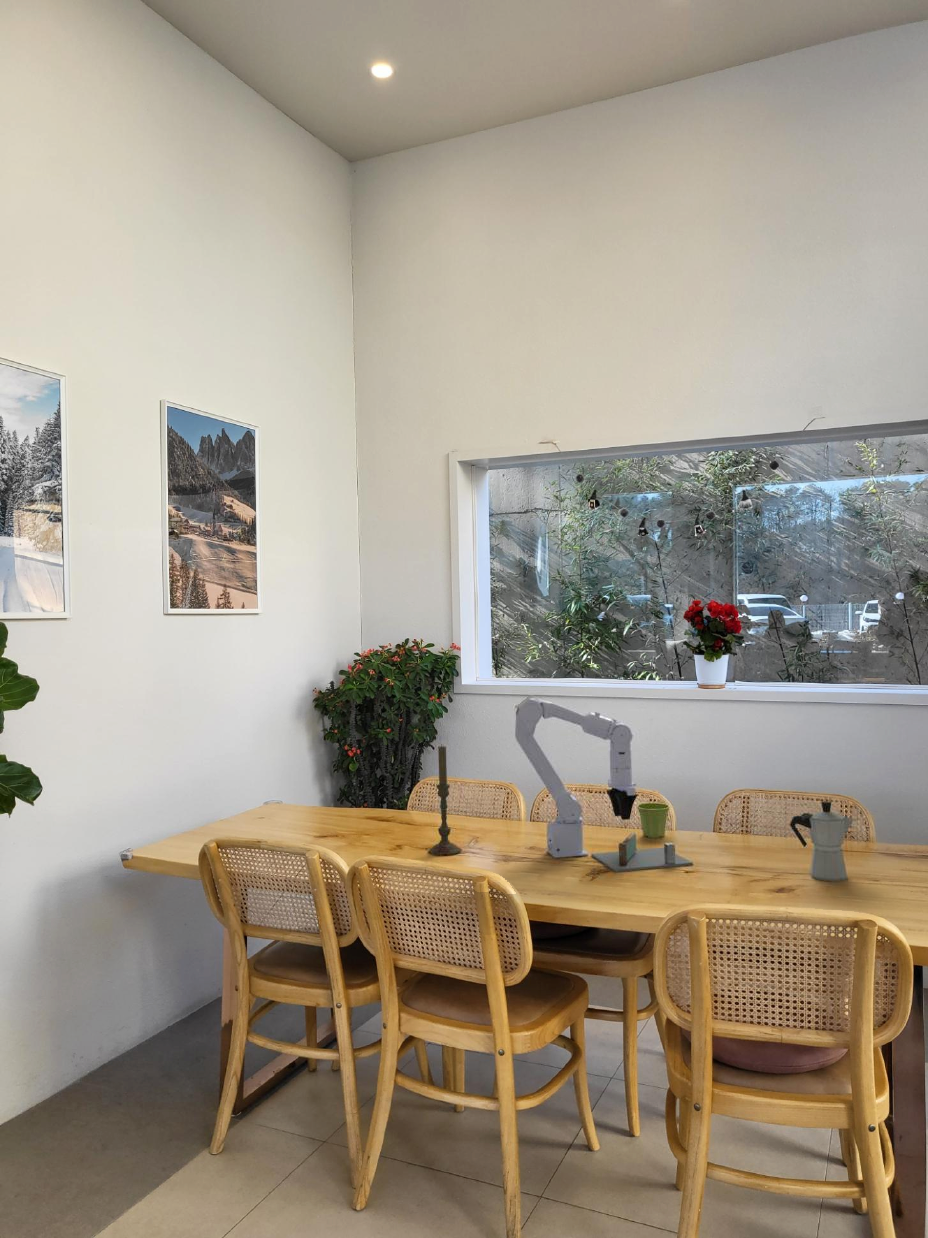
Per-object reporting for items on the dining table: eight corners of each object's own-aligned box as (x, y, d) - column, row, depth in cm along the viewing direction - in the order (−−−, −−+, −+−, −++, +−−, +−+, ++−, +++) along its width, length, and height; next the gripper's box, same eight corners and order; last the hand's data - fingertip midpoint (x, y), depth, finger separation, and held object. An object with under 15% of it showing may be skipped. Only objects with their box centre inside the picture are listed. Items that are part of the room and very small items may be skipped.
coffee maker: (853, 872, 228) (851, 798, 228) (860, 882, 219) (857, 805, 219) (788, 870, 231) (786, 797, 231) (793, 880, 222) (791, 804, 222)
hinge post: (621, 868, 237) (620, 845, 237) (618, 866, 239) (617, 843, 239) (628, 868, 237) (627, 844, 237) (625, 866, 239) (624, 842, 239)
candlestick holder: (423, 855, 257) (420, 745, 257) (435, 847, 265) (432, 741, 265) (454, 857, 254) (451, 746, 254) (466, 849, 262) (463, 742, 262)
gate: (626, 862, 239) (626, 842, 239) (622, 862, 240) (621, 842, 240) (636, 851, 250) (635, 832, 250) (631, 850, 251) (631, 831, 251)
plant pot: (670, 839, 267) (669, 809, 267) (637, 839, 269) (636, 808, 269) (670, 832, 276) (669, 802, 276) (637, 831, 278) (637, 802, 278)
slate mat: (615, 872, 234) (615, 869, 234) (591, 856, 250) (591, 853, 250) (692, 865, 239) (692, 862, 239) (664, 849, 255) (664, 847, 255)
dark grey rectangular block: (668, 866, 238) (667, 845, 238) (664, 864, 240) (664, 843, 240) (675, 865, 238) (674, 844, 238) (671, 864, 240) (671, 842, 240)
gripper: (645, 770, 247) (646, 821, 247) (624, 762, 262) (625, 811, 262) (620, 772, 246) (622, 823, 246) (600, 764, 260) (601, 813, 260)
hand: (622, 817), depth 254 cm, fingers open, 4 cm apart
